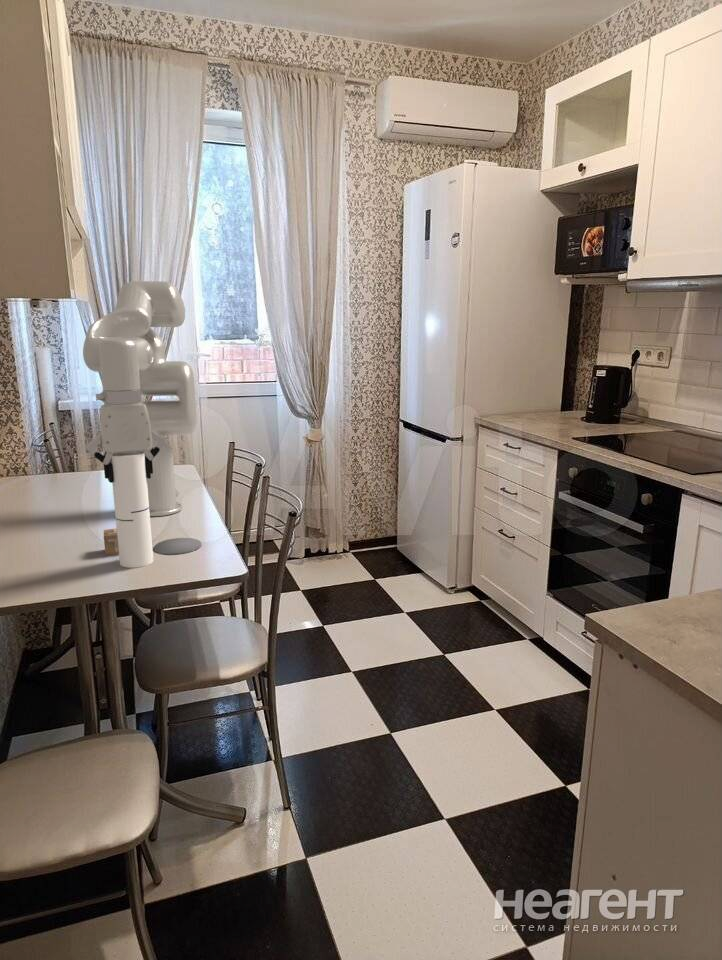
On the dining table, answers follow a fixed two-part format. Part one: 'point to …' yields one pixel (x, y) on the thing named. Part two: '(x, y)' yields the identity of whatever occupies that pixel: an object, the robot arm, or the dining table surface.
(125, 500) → the cylindrical container
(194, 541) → the charcoal mat
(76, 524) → the dining table surface
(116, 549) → the wooden letter cube
